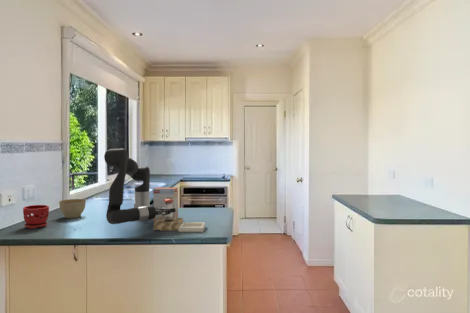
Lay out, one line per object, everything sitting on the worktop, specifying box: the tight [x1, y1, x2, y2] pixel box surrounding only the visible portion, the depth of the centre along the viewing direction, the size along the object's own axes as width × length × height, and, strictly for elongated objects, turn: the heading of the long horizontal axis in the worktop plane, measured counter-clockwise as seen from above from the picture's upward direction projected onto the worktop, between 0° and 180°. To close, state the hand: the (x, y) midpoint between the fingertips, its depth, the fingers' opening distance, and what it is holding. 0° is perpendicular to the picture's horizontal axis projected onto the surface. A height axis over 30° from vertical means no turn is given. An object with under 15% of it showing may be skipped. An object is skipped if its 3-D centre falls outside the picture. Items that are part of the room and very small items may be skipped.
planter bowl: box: [58, 198, 87, 219], centre depth 233 cm, size 16×16×11 cm
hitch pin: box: [164, 199, 174, 222], centre depth 201 cm, size 6×6×16 cm
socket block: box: [153, 217, 184, 231], centre depth 201 cm, size 14×14×4 cm
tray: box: [178, 221, 206, 233], centre depth 196 cm, size 13×13×2 cm
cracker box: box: [153, 186, 179, 223], centre depth 217 cm, size 14×6×21 cm, turn 74°
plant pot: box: [22, 204, 50, 229], centre depth 205 cm, size 13×13×12 cm
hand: (172, 209), depth 203 cm, fingers closed on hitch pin, 4 cm apart
